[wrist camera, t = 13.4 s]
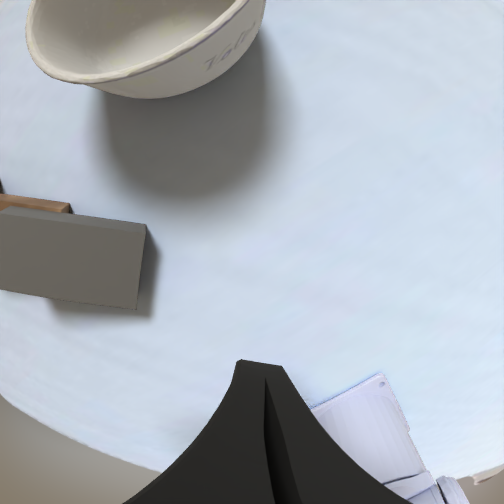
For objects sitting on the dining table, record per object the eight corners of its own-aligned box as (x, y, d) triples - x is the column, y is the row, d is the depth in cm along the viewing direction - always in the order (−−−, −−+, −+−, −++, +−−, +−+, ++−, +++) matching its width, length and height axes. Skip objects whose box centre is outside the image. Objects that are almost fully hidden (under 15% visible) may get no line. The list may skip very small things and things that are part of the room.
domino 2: (145, 233, 15) (-3, 213, 12) (136, 309, 17) (-1, 289, 13) (145, 224, 17) (10, 205, 14) (136, 293, 18) (10, 275, 15)
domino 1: (61, 209, 15) (-47, 194, 12) (57, 281, 16) (-45, 259, 13) (69, 203, 17) (-33, 189, 14) (64, 269, 18) (-33, 250, 15)
